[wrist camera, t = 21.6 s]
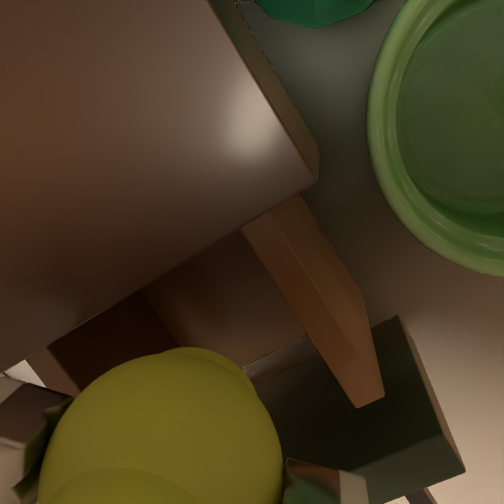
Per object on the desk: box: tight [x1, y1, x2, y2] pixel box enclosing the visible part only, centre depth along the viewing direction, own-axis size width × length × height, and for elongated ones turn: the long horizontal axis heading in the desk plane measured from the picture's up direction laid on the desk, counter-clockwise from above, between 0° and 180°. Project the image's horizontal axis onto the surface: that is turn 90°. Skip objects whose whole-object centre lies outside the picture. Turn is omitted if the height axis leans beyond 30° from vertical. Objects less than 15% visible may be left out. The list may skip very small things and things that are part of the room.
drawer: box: [25, 193, 466, 504], centre depth 15 cm, size 16×9×7 cm, turn 33°
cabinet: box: [0, 0, 320, 374], centre depth 13 cm, size 12×10×9 cm
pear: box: [38, 347, 284, 504], centre depth 8 cm, size 4×4×5 cm
